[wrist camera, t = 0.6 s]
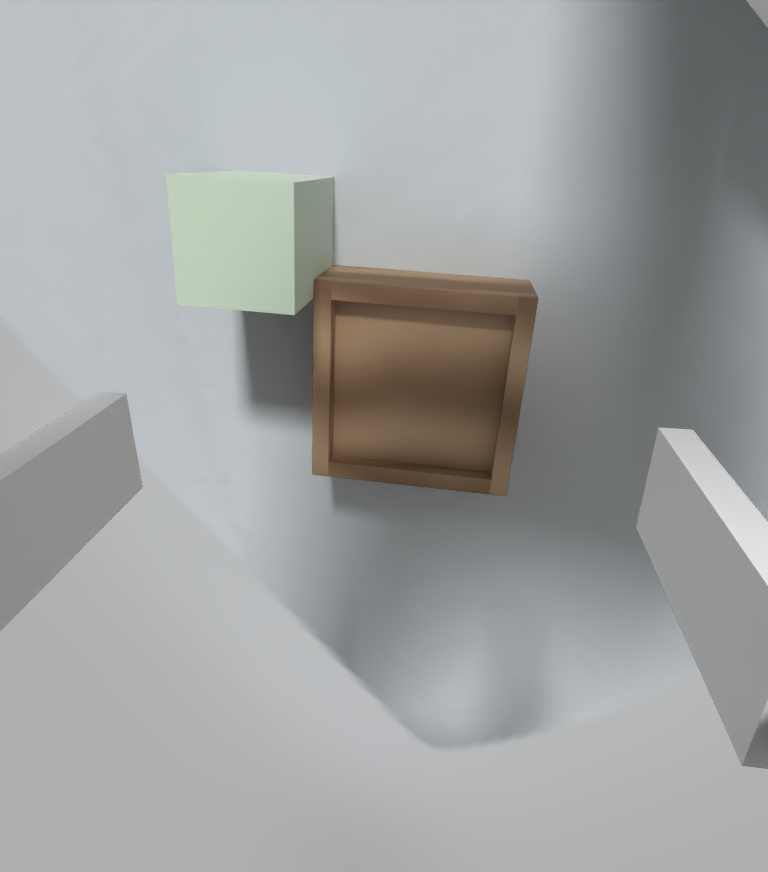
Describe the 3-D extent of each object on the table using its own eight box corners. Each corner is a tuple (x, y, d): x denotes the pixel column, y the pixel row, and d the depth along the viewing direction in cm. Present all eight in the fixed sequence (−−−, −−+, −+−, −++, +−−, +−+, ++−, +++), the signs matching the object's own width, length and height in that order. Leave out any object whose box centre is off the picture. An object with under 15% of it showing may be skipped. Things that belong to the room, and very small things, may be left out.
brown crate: (332, 265, 37) (313, 280, 33) (529, 280, 36) (538, 298, 32) (328, 440, 42) (312, 474, 38) (502, 459, 41) (505, 496, 37)
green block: (234, 170, 36) (165, 173, 28) (334, 176, 35) (293, 182, 27) (239, 273, 38) (177, 304, 30) (332, 281, 38) (294, 315, 30)
